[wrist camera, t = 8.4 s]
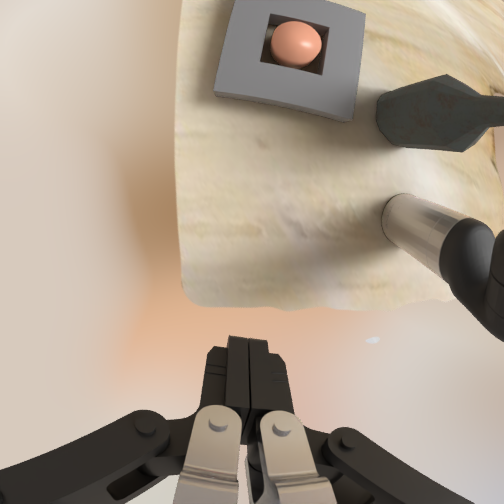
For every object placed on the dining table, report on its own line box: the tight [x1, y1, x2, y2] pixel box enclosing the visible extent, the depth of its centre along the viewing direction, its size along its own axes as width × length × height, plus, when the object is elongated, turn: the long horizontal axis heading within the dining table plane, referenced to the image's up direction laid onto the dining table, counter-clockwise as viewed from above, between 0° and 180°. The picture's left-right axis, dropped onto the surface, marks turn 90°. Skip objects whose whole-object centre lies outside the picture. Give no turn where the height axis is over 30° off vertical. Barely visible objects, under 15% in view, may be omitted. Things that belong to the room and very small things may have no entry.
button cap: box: [270, 21, 321, 69], centre depth 32 cm, size 7×7×4 cm
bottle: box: [376, 74, 504, 152], centre depth 24 cm, size 10×10×30 cm
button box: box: [213, 0, 366, 122], centre depth 33 cm, size 20×20×4 cm
